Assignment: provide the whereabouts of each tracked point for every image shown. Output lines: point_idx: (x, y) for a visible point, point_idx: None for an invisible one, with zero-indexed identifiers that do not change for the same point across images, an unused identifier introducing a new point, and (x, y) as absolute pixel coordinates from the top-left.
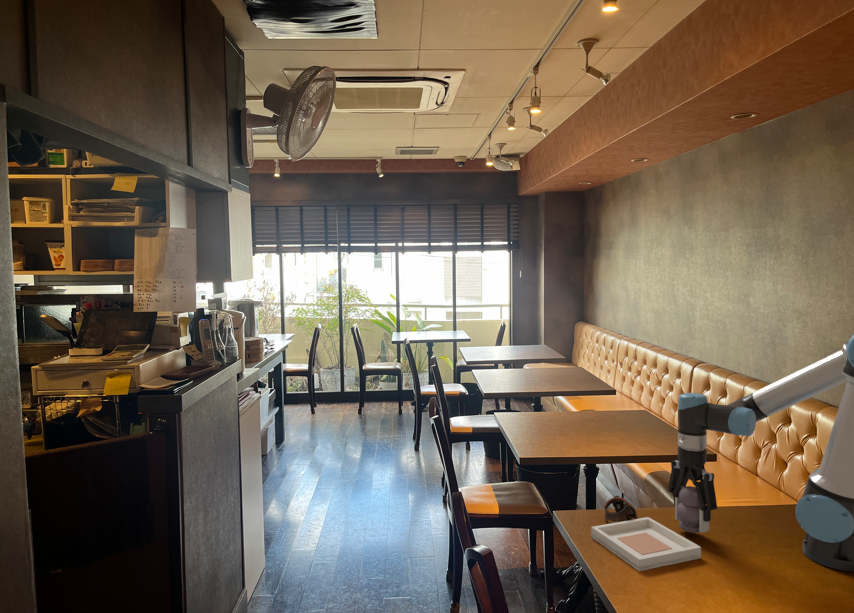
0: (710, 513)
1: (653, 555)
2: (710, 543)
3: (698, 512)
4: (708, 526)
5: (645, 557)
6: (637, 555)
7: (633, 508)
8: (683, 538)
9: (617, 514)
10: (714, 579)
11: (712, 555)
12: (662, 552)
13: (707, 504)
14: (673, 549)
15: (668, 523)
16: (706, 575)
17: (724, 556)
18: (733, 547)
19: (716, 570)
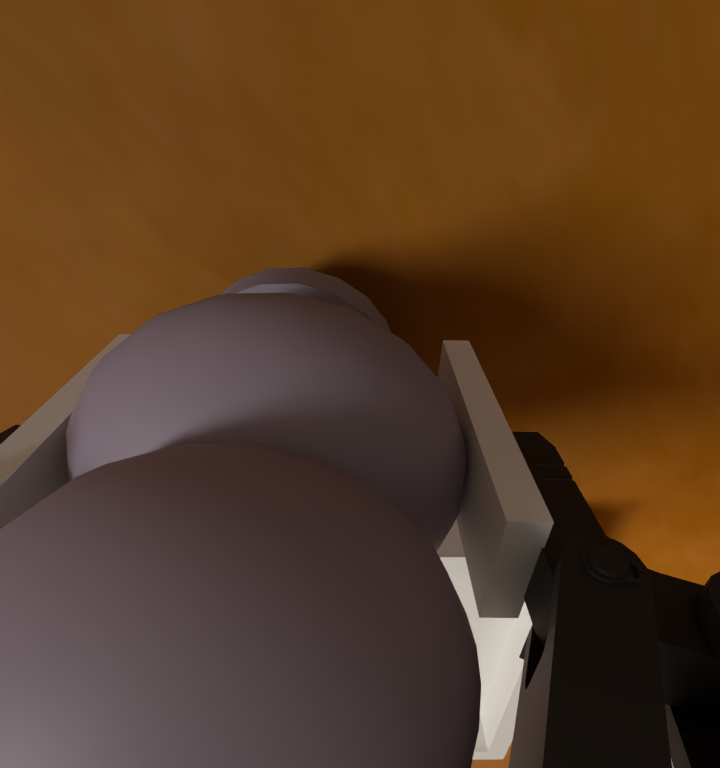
0: (590, 511)
1: (509, 725)
2: (475, 311)
3: (436, 547)
4: (477, 368)
5: (503, 744)
6: (475, 753)
7: None
8: (459, 566)
9: None
10: (715, 570)
11: (589, 427)
12: (512, 697)
13: (693, 760)
14: (456, 585)
15: (77, 348)
16: (673, 574)
17: (647, 373)
18: (626, 186)
19: (687, 517)
